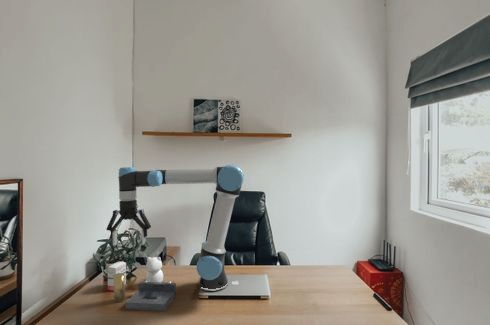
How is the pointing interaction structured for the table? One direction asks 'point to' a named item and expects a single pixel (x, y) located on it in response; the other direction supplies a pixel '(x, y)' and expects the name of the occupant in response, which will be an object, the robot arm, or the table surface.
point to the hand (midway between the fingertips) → (129, 244)
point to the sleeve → (119, 287)
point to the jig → (152, 296)
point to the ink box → (115, 269)
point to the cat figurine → (154, 269)
